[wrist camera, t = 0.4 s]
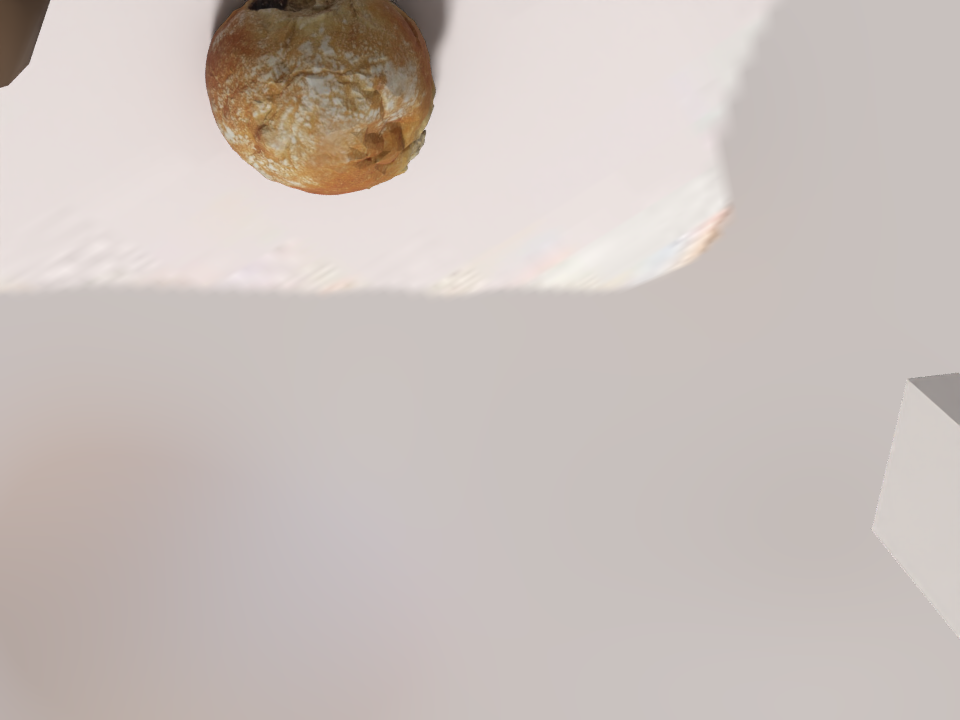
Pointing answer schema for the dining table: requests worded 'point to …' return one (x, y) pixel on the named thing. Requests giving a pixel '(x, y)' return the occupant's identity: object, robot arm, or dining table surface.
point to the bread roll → (321, 91)
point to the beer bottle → (18, 35)
